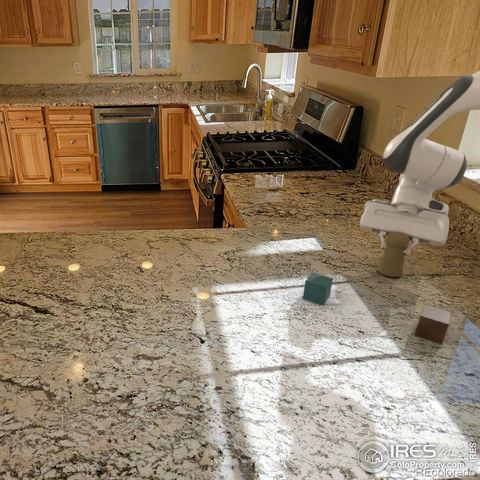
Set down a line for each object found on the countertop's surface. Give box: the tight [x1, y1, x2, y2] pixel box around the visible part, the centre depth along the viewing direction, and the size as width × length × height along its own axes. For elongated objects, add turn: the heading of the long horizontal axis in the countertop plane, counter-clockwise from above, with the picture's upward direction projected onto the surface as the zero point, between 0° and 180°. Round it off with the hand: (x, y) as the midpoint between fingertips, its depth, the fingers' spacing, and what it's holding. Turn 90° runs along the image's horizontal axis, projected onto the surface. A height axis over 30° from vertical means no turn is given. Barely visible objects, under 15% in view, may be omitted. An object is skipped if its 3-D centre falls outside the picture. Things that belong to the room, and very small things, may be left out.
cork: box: [377, 231, 410, 278], centre depth 110 cm, size 6×6×11 cm
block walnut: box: [414, 304, 452, 345], centre depth 89 cm, size 5×5×5 cm
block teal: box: [302, 272, 334, 306], centre depth 102 cm, size 5×5×5 cm
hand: (394, 251), depth 110 cm, fingers closed on cork, 4 cm apart
